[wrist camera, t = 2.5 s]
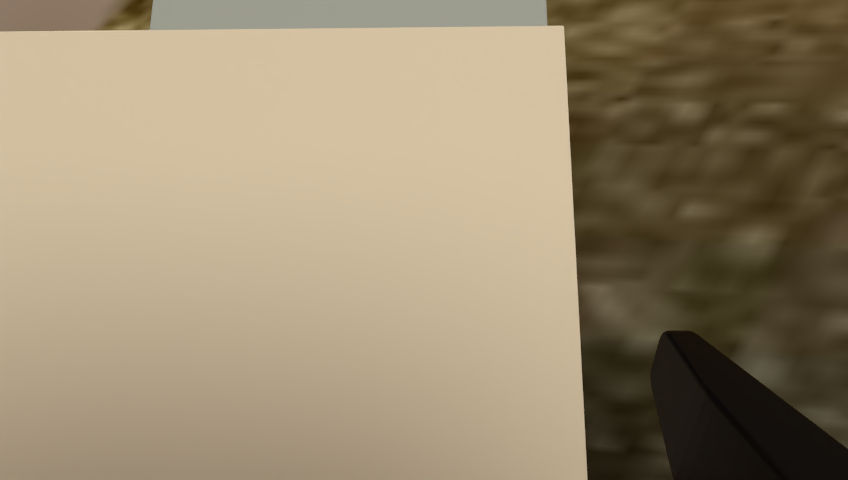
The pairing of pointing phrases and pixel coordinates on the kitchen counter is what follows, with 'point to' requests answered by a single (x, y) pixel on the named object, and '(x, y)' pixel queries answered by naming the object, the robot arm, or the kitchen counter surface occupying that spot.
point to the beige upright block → (288, 255)
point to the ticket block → (344, 14)
